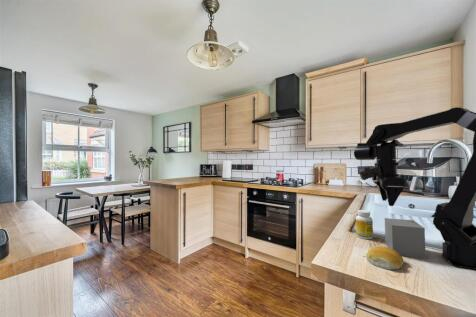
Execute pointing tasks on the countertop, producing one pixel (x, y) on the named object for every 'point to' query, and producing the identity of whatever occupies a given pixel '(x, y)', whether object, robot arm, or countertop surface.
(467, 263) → the robot arm
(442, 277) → the countertop surface
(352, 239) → the countertop surface
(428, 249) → the countertop surface
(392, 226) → the gray block
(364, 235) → the supplement bottle
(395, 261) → the bread roll
